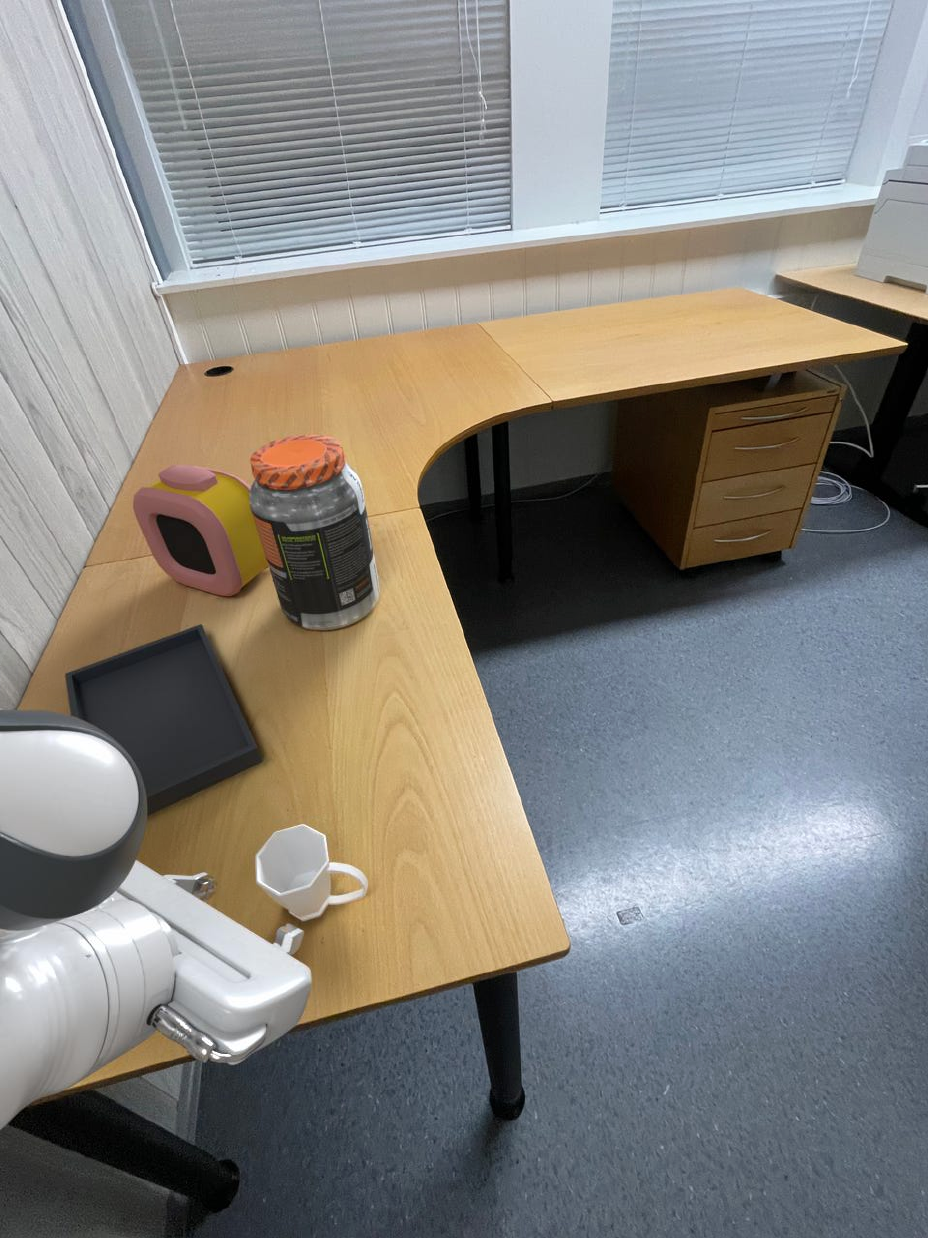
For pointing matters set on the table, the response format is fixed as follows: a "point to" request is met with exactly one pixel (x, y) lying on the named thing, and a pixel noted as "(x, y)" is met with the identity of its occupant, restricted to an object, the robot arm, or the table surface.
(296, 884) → the cup
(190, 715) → the tray
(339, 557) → the supplement tub
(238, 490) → the alarm clock
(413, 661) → the table surface
